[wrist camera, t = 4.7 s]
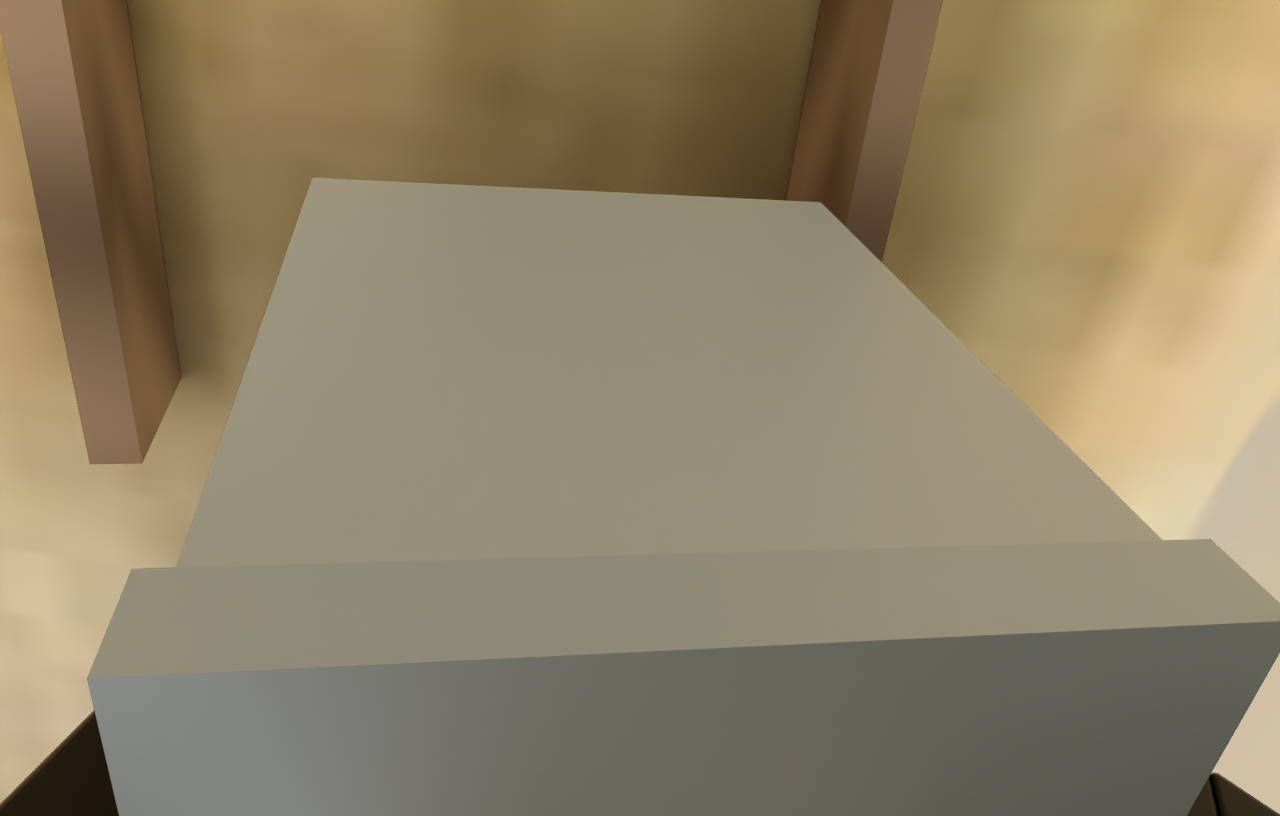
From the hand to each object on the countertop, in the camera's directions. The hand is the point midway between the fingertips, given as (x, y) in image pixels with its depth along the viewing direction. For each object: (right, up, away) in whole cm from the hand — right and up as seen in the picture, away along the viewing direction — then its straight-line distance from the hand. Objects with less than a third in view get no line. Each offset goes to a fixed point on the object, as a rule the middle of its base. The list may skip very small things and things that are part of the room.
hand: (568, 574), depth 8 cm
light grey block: (0, 0, +1) cm, 1 cm away
